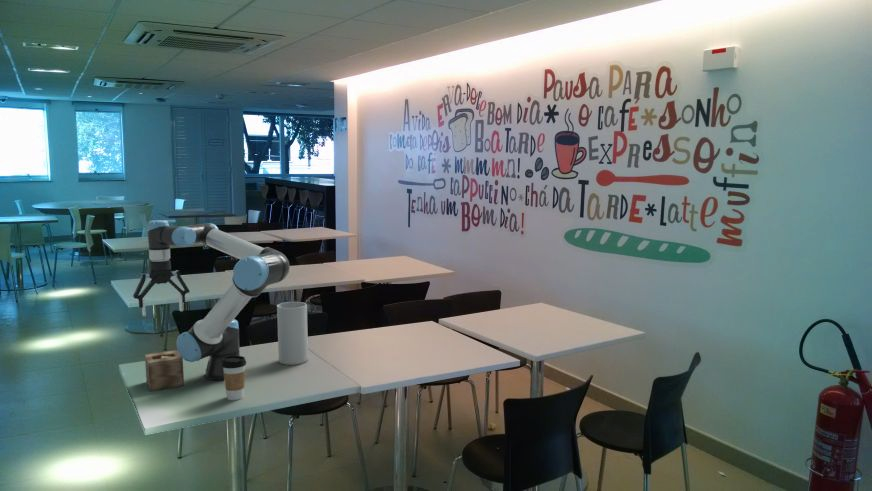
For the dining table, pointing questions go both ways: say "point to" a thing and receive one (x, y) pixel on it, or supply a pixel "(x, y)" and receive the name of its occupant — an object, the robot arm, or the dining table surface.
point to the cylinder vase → (292, 333)
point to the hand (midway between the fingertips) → (162, 313)
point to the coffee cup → (234, 376)
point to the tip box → (164, 370)
